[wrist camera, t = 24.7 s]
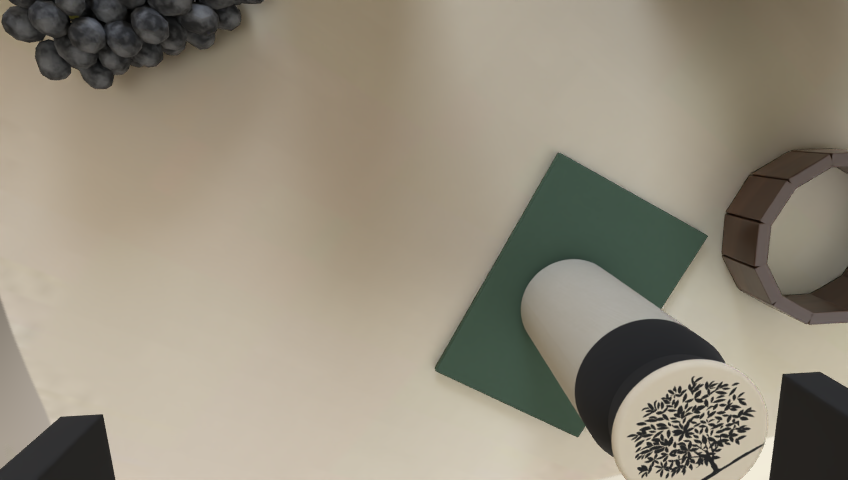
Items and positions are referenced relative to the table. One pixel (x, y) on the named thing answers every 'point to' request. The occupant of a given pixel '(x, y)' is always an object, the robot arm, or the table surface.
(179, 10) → the fruit
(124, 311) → the table surface
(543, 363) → the mat
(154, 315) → the table surface
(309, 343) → the table surface
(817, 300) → the holder
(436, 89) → the table surface
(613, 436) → the travel mug
